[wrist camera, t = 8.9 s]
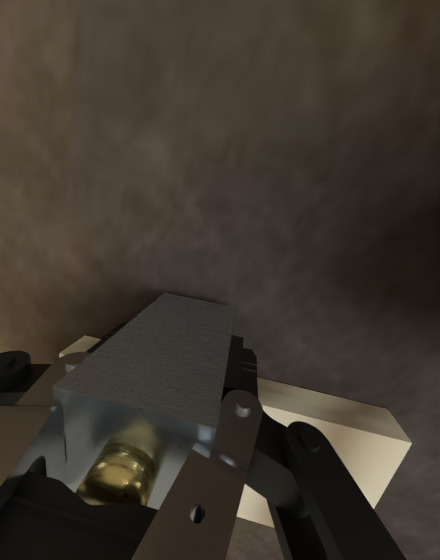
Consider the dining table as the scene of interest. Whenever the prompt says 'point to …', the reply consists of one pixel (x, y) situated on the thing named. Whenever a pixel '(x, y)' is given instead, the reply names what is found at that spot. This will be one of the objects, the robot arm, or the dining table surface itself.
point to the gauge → (145, 401)
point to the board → (334, 425)
